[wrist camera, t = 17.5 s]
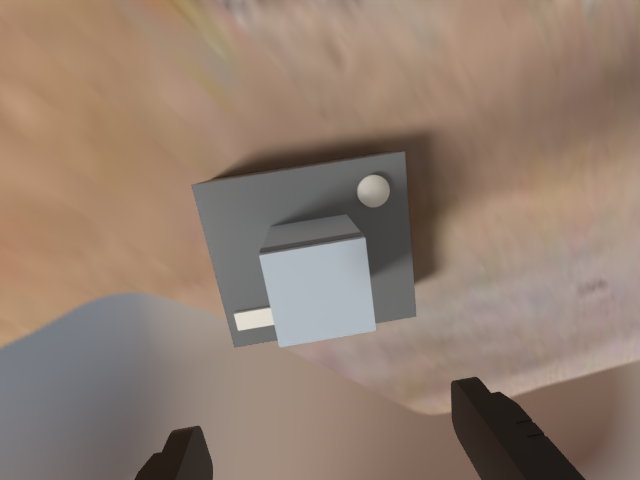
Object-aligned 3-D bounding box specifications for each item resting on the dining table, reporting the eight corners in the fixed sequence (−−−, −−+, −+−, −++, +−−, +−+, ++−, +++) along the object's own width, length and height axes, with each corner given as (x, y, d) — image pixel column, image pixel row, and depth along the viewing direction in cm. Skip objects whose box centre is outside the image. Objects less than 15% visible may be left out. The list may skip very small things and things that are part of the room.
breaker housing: (244, 317, 31) (233, 351, 26) (210, 179, 27) (188, 185, 22) (398, 291, 32) (418, 319, 26) (386, 151, 28) (407, 151, 22)
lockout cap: (283, 296, 25) (278, 348, 19) (269, 226, 24) (257, 254, 17) (356, 284, 25) (376, 331, 19) (346, 213, 24) (366, 236, 17)
